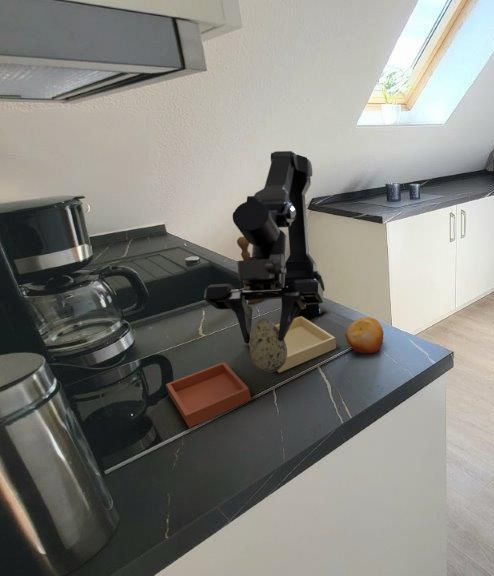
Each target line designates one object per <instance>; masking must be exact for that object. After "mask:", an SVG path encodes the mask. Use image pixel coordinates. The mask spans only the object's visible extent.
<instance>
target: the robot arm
mask: <svg viewBox="0 0 494 576" xmlns="http://www.w3.org/2000/svg"><path fill="white" fill-rule="evenodd" d="M311 177H313V165H312V162H311V160H310V159H309V158H308V157H307V156H304V155H300V154H297V153H296V152H295V151H292V150H277V151H273V152H271V153H270V166H269V169H268V173H267V177H266V180H265V182H264V183H265V184H264V186H263V188H262V189H260V190H258V191H257V192H255V193H254V194H253V195H248V196H246V201H245V202H243V203H240V204H239V205H238V206H237V207H236V208H235V210H234V211H233V212H232V221H233V224H234V225H235V226H236V228H237V229H238V230H239V232H240V233H241V235H242V237H245V238H246V240H247V241H248V242H249V245H251V246H252V250H251V256H250V257H249V260H243V259H242V260H237V262H236V263H237V278H238V281H239V282H241V281H243V280H244V282H243V285H244V284H245V286H249V289H247V290H243V289H237V288H236V287H234V285H232V283H216V284H215V283H214V284H209V285H208V286H206V288H205V289H204V295H203V300H204V301H206V302H207V304H209V305H211V306H212V307H214V309H216V310H220V311H222V310H224V311H225V310H231V311H232V312H233V313H234V314H235V316H236V318H237V321H238V324H239V328H240V331H241V335H242V338H243V341H244V343H245V344H247V345H249V342H250V337H251V333H252V321H253V309H252V307H250V306H249V305H248V304H249V303H248V300H262V301H264V300H278V299H279V300H280V299H281V311H280V319H279V320H280V321H279V324H280V327H279V340H280V341H283V340H284V338H285V336H286V334H287V332H288V330H289V328H290V326H291V324H292V322H293V320H294V319H295V318H297V317H300V316H302V317H304V318H305V319H307V320H309V319H312V318H314V317H318V316H320V315H323V314H326V310H324V309H323V308H321V307H320V306H319V305H321V304H323V303H324V292H325V282H324V279H323V277H322V275H321V273H320V270H318V266H317V263H316V262H315V260H314V258H313V257H312V256H311V255H310V247H309V234H308V221H307V207H306V194H307V192H308V191H309V188H310V187H311V185H312V183H311V180H312V179H311ZM280 228H287V231H288V245H289V246H288V247H289V255H288V258H287V259H286V257H287V235H286V233H285V232H284V231H283V230H282V229H280Z"/></svg>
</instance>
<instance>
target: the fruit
mask: <svg viewBox="0 0 494 576" xmlns="http://www.w3.org/2000/svg"><path fill="white" fill-rule="evenodd" d="M344 336H345V340H346V342H347V344H348V345H349V347H350V348H351V350H353V351H354V352H355V353H358V354H359V353H360V354H376V353H377V352H378V351H380V349H381V348H382V345H383V343H384V330H383V327H382V325H381V323H380V322H379V321H378V319H376V318H375V317H371V316H370V317H369V316H367V317H360V318H358V319H355V320H354V321H353V322H351V323H350V324H349V325H348V327H347V329H346V332H345V334H344Z"/></svg>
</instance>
